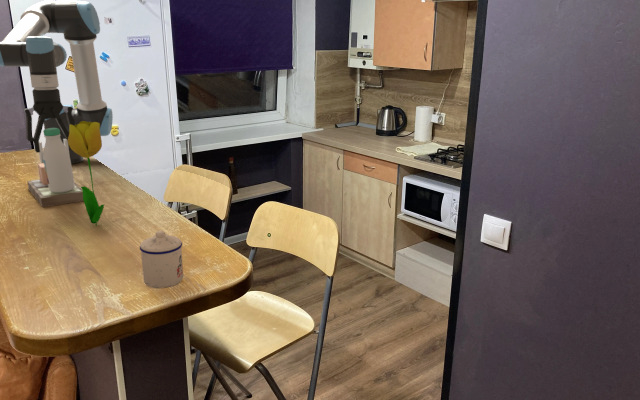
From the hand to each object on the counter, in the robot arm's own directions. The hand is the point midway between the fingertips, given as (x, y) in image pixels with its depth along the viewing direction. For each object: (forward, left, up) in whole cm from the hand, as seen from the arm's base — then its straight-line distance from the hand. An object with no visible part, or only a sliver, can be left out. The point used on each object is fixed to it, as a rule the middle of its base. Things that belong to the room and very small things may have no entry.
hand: (55, 160), depth 173 cm
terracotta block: (-7, -10, -10) cm, 16 cm away
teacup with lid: (+38, +66, -13) cm, 77 cm away
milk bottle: (+1, +2, -9) cm, 10 cm away
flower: (+16, +28, -13) cm, 35 cm away
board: (-3, -5, -13) cm, 14 cm away
